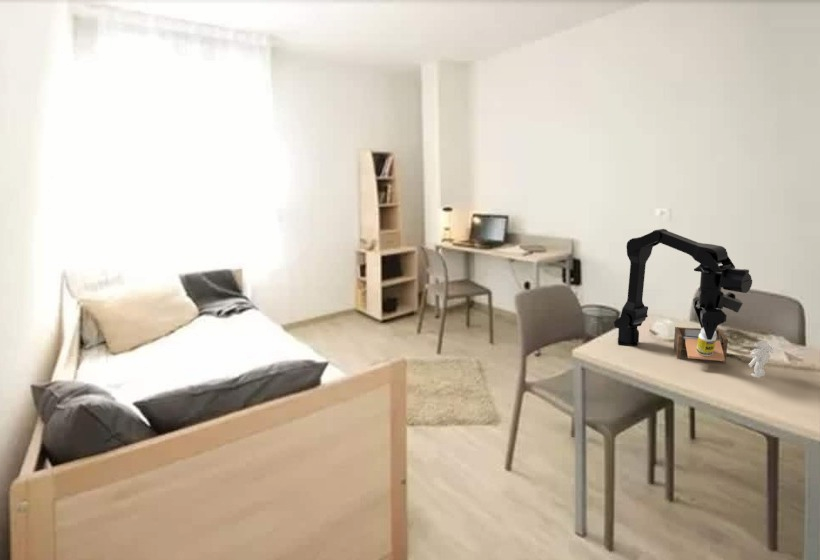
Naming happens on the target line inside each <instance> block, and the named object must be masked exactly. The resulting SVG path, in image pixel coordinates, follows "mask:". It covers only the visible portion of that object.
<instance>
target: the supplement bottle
mask: <svg viewBox="0 0 820 560" xmlns="http://www.w3.org/2000/svg"><path fill="white" fill-rule="evenodd" d="M715 335H716V331H715V333H714V335H713V337H712V339H711V340H708V339H707V337H706V334H705V331H704V328H701V333H700V334H699V336H698V343H697V348H696V351H697V353H699V354H700V355H703V356H711V355H712V354H713V352H714V347H715V342H716V336H715Z"/></svg>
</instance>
